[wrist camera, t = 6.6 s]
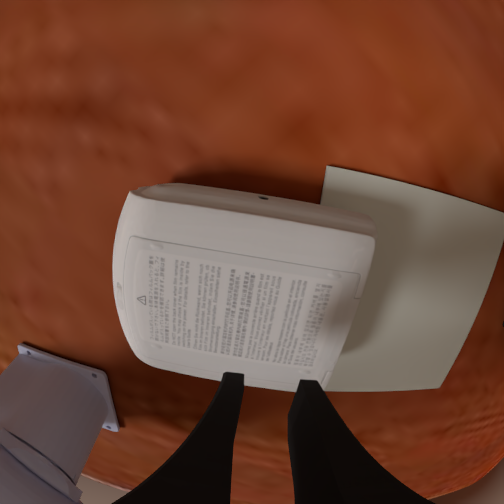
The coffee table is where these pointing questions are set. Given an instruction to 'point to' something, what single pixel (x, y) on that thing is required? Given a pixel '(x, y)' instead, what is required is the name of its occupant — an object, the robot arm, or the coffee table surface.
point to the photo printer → (239, 282)
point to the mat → (413, 281)
